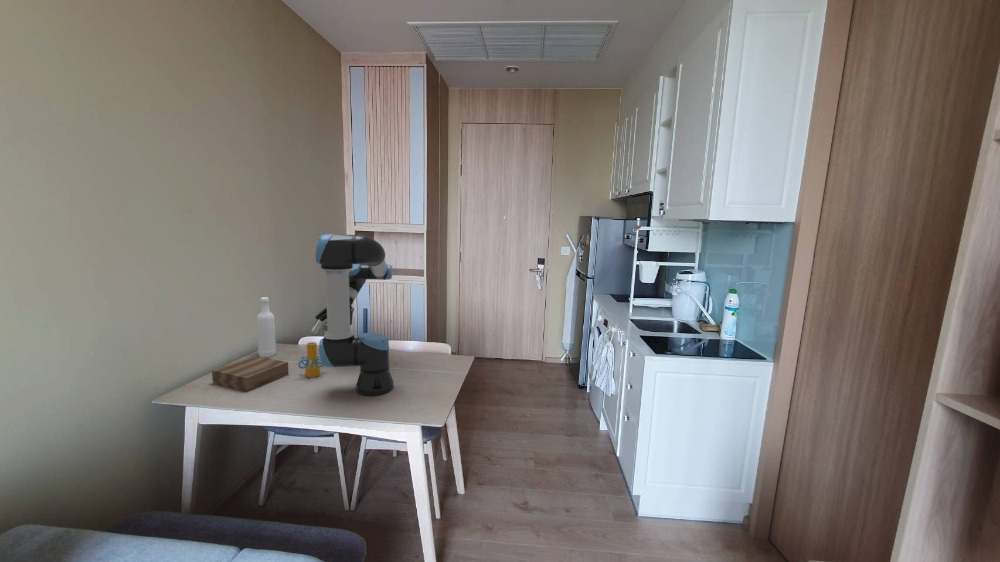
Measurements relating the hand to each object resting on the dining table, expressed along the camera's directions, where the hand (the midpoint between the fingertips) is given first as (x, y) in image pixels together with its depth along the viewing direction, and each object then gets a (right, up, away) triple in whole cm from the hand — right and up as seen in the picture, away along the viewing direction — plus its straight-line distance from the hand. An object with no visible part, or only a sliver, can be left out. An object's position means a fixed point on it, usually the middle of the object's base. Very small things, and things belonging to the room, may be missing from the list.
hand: (324, 334), depth 183 cm
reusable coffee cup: (-7, -13, +30) cm, 33 cm away
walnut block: (-27, -18, -12) cm, 34 cm away
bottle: (-38, -13, +19) cm, 44 cm away
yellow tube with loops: (-3, -18, -5) cm, 19 cm away
